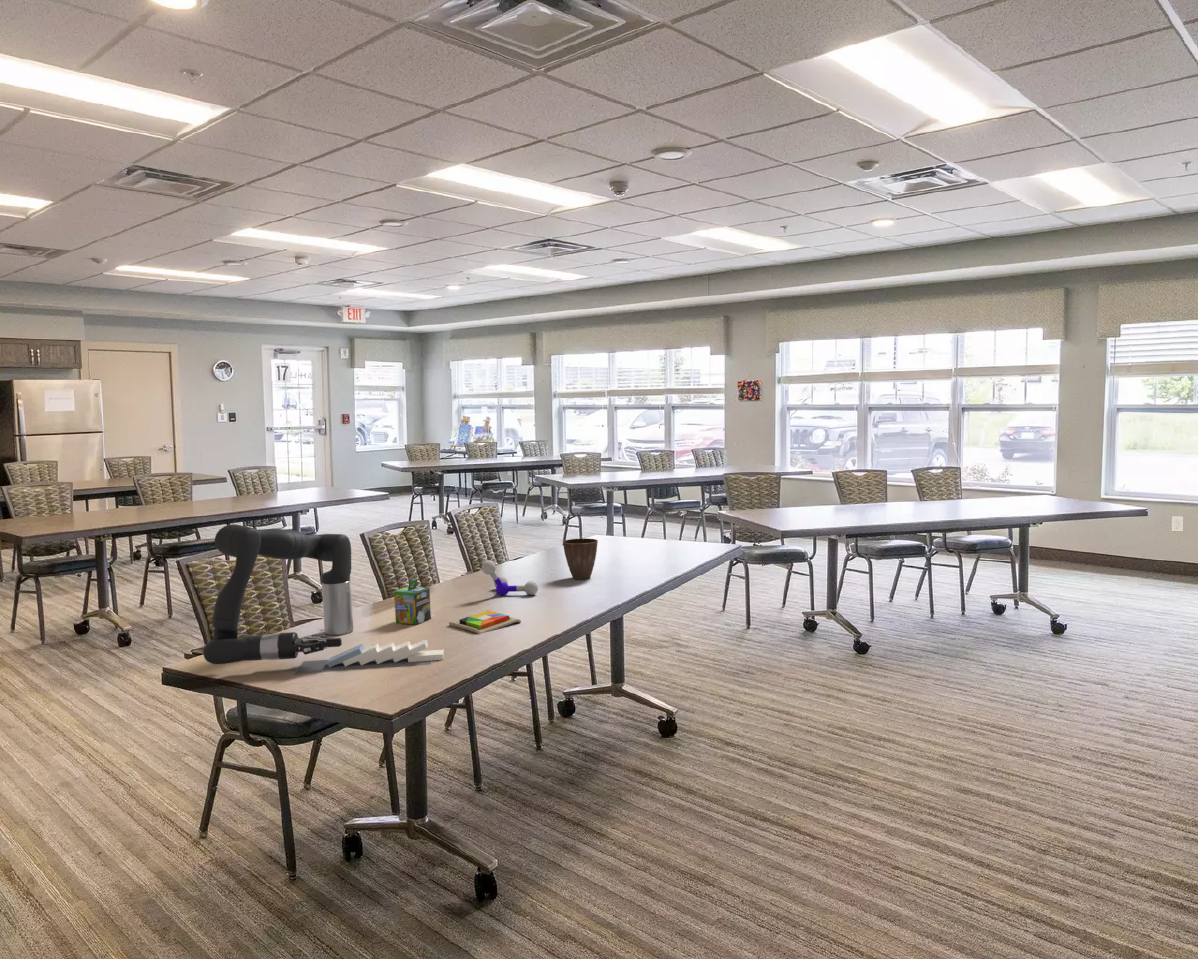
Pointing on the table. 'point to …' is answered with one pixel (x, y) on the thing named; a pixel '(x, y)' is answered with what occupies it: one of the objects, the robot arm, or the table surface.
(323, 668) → the runner
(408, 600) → the chalk box
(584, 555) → the plant pot
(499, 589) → the molecular model
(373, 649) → the tile
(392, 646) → the tile
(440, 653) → the tile
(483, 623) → the wooden puzzle
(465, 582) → the table surface
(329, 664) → the tile
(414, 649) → the tile
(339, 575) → the robot arm
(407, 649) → the tile
